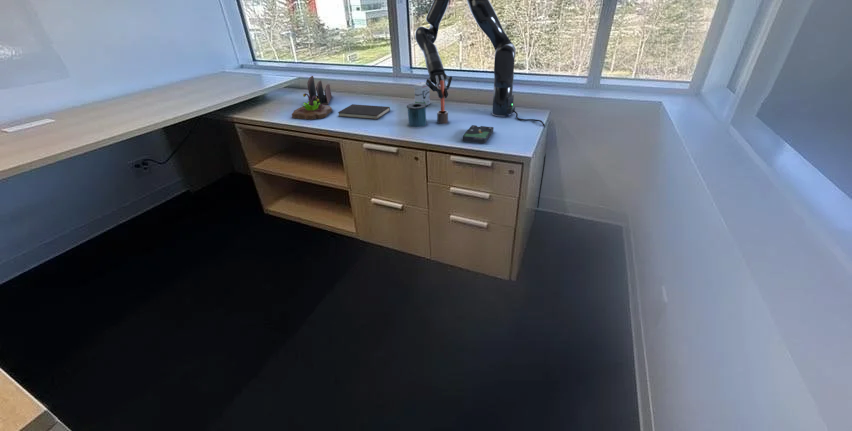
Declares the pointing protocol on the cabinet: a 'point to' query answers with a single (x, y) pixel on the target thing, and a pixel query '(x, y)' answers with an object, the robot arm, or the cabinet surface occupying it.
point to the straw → (442, 94)
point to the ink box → (422, 93)
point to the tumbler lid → (416, 107)
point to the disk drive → (477, 134)
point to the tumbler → (417, 117)
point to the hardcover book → (364, 111)
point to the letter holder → (319, 92)
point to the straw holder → (442, 117)
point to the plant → (311, 110)
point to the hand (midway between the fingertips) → (444, 97)
